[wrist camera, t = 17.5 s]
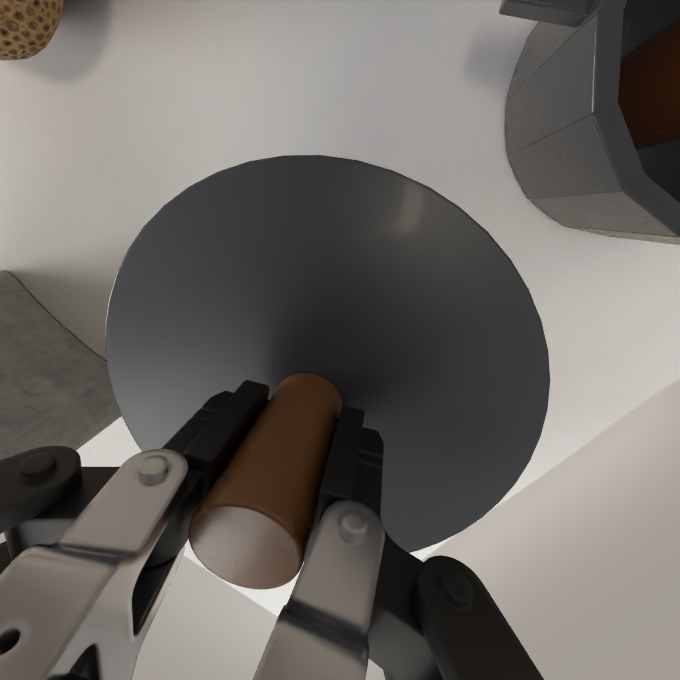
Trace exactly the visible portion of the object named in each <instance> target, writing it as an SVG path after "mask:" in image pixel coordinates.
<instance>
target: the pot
mask: <svg viewBox="0 0 680 680" xmlns="http://www.w3.org/2000/svg"><path fill="white" fill-rule="evenodd" d="M499 13H500V14H502V15H507V16H513V17H518V18H524V19H529V20H535V21H539V22H538V23H537V25H536V26H535V27H534V29H533V30H532V32H531V33H530V34H529V36H528V38H527V40H526V42H525V45H524V48H523V51H522V53H521V55H520V58H519V60H518V63H517V66H516V68H515V71H514V73H513V77H512V81H511V85H510V88H509V92H508V97H507V105H506V111H505V138H506V148H507V152H508V157H509V161H510V165H511V167H512V170H513V172H514V175H515V178H516V179H517V181H518V183H519V185H520V186H521V188H522V190H523V192H524V193H525V194H526V195H527V197H528V198H529V199H530V200H531V202H532V203H533V204H534V205H535V206H537V207H538V208H539V209H540V210H541V211H542V212H543V213H545V214H546V215H548V216H549V217H551V218H552V219H554V220H555V221H557V222H559V223H560V224H561V225H563V226H565V227H569V228H574V229H578V230H582V231H587V232H592V233H597V234H601V235H606V236H611V237H619V238H627V239H635V240H643V241H651V242H659V243H667V244H675V245H680V140H676V141H672V142H667V143H663V144H659V145H655V146H651V147H647V148H641V149H636V148H635V146H634V143H633V140H632V138H631V135H630V132H629V130H628V127H627V124H626V122H625V119H624V117H623V114H622V111H621V109H620V106H619V103H618V97H619V81H620V66H621V60H622V59H623V58H624V57H625V56H626V55H627V54H629V53H630V52H631V51H633V50H634V49H636V48H637V47H639V46H640V45H642V44H643V43H645V42H646V41H647V40H649V39H650V38H652V37H653V36H655V35H656V34H658V33H659V32H661V31H662V30H664V29H665V28H667V27H668V26H670V25H671V24H673V23H674V22H676V21H677V20H679V19H680V0H502V3H501V6H500V10H499Z"/></svg>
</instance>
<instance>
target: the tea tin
mask: <svg viewBox="0 0 680 680" xmlns="http://www.w3.org/2000/svg"><path fill="white" fill-rule="evenodd" d="M618 103H619V106H620V109H621V111H622V114H623V117H624V119H625V122H626V124H627V127H628V130H629V132H630V135H631V138H632V140H633V143H634V146H635V148H636V149H641V148H647V147H651V146H655V145H659V144H663V143H667V142H672V141H676V140H680V19H679V20H677V21H676V22H674V23H673V24H671V25H670V26H668V27H667V28H665V29H664V30H662V31H661V32H659V33H658V34H656V35H655V36H653V37H652V38H650V39H649V40H647V41H646V42H645V43H643V44H642V45H640V46H639V47H637V48H636V49H634V50H633V51H631V52H630V53H629V54H627V55H626V56H625V57H624V58H623V59H622V60H621V66H620V81H619V97H618Z"/></svg>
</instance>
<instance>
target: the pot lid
mask: <svg viewBox="0 0 680 680" xmlns="http://www.w3.org/2000/svg"><path fill="white" fill-rule="evenodd" d="M105 350H106V358H107V365H108V373H109V377H110V381H111V385H112V388H113V392H114V396H115V399H116V401H117V404H118V406H119V409H120V412H121V414H122V417H123V419H124V421H125V423H126V425H127V427H128V429H129V431H130V432H131V434H132V436H133V438H134V440H135V442H136V443H137V445H138V446H139V448H140V449H141V450H142V452H144V451H147V450H152V449H161V448H162V447H163V446H164V445H165V444H166V443H167V442H168V441H169V440H170V439H171V438H172V437H173V436H174V435H175V434H176V433H177V432H178V431H179V430H180V429H181V427H182V426H183V425H184V424H185V423H186V422H187V421H188V420H189V419H190V418H192V417H193V415H194V414H195V413H196V412H197V411H198V410H199V409H201V407H202V406H203V405H204V404H205V403H206V402H207V401H208V400H209V399H210V398H211V397H212V396H214V395H217V394H219V393H221V392H223V391H225V390H226V391H229V392H233V393H234V392H235V391H236V390H237V389H238V388H239V386H240V385H241V384H242V383H243V382H244V381H245V380H250V381H254V382H258V383H262V384H266V385H269V387H270V391H269V398H268V402H267V404H266V405H265V407H264V408H263V410H262V411H261V413H260V414H259V416H258V417H257V419H256V421H255V422H254V424H253V425H252V427H251V428H250V430H249V431H248V433H247V434H246V436H245V437H244V439H243V440H242V442H241V443H240V445H239V446H238V448H237V449H236V451H235V453H234V454H233V456H232V457H231V459H230V460H229V462H228V463H227V465H226V466H225V468H224V469H223V471H222V472H221V474H220V475H219V477H218V478H217V480H216V481H215V483H214V484H213V486H212V488H211V489H210V491H209V492H208V494H207V495H206V497H205V498H204V500H203V501H202V503H201V504H200V506H199V507H198V509H197V510H196V512H195V513H194V515H193V517H192V519H191V521H190V525H189V532H188V534H189V541H190V545H191V548H192V550H193V552H194V553H195V555H196V556H197V558H198V559H199V560H200V562H201V563H202V564H203V565H204V566H205V567H206V568H207V569H209V570H210V571H211V572H212V573H214V574H215V575H217V576H218V577H220V578H222V579H224V580H225V581H228V582H230V583H232V584H235V585H238V586H241V587H245V588H251V589H272V588H276V587H280V586H282V585H285V584H286V583H288V582H290V581H291V580H292V579H293V578H294V577H295V576H296V575H297V574H298V572H299V571H300V569H301V567H302V564H303V561H304V557H305V553H306V550H307V546H308V542H309V538H310V534H311V531H312V525H313V515H314V511H315V507H316V503H317V499H318V494H319V490H320V487H321V483H322V479H323V476H324V472H325V468H326V464H327V461H328V457H329V453H330V450H331V446H332V442H333V439H334V435H335V431H336V427H337V424H338V420H339V416H340V413H341V409H342V405H345V406H349V407H353V408H357V409H361V410H365V414H364V421H363V427H365V428H369V429H372V430H376V431H378V432H379V434H380V436H381V438H382V440H383V442H384V455H383V469H382V470H383V475H382V494H381V520H382V524H383V526H384V529H385V530H386V532H387V534H388V535H389V537H390V538H391V539H392V540H393V541H394V542H395V543H396V544H397V545H398V546H399V547H400V548H402V549H403V550H405V551H406V552H408V553H410V552H414V551H418V550H420V549H423V548H426V547H429V546H431V545H434V544H437V543H439V542H441V541H443V540H445V539H447V538H449V537H451V536H453V535H455V534H457V533H459V532H461V531H463V530H464V529H466V528H467V527H469V526H470V525H471V524H473V523H474V522H476V521H477V520H479V519H480V518H482V517H483V516H484V515H485V514H486V513H487V512H489V511H490V510H491V509H492V508H493V507H494V506H495V505H496V504H498V503H499V502H500V501H501V499H502V498H503V497H504V496H505V495H506V494H507V492H508V491H509V490H510V489H511V488H512V487H513V485H514V484H515V483H516V482H517V480H518V479H519V477H520V475H521V474H522V472H523V471H524V469H525V468H526V466H527V464H528V463H529V461H530V459H531V457H532V454H533V452H534V450H535V448H536V445H537V443H538V441H539V438H540V436H541V432H542V428H543V424H544V420H545V417H546V413H547V407H548V397H549V386H550V373H549V358H548V348H547V344H546V340H545V335H544V331H543V327H542V322H541V319H540V316H539V314H538V312H537V309H536V307H535V304H534V302H533V299H532V297H531V294H530V292H529V289H528V288H527V286H526V284H525V283H524V281H523V279H522V278H521V276H520V274H519V273H518V271H517V269H516V268H515V266H514V264H513V263H512V261H511V260H510V258H509V257H508V256H507V255H506V254H505V252H504V251H503V250H502V249H501V248H500V246H499V245H498V244H497V243H496V242H495V240H494V239H493V238H492V237H491V236H490V234H489V233H488V232H487V231H486V230H485V229H484V228H482V227H481V226H480V225H479V224H478V223H477V222H476V221H475V220H473V219H472V218H471V217H470V216H469V215H468V214H467V213H466V212H464V211H463V210H462V209H461V208H460V207H458V206H457V205H455V204H454V203H452V202H451V201H449V200H448V199H446V198H445V197H443V196H441V195H440V194H438V193H437V192H435V191H434V190H432V189H431V188H429V187H427V186H425V185H423V184H421V183H419V182H417V181H414V180H412V179H410V178H408V177H406V176H404V175H401V174H399V173H397V172H395V171H392V170H389V169H385V168H382V167H379V166H375V165H372V164H368V163H365V162H361V161H358V160H352V159H345V158H337V157H330V156H323V155H292V156H278V157H273V158H267V159H261V160H255V161H249V162H246V163H243V164H240V165H237V166H234V167H231V168H228V169H225V170H222V171H219V172H217V173H215V174H213V175H211V176H209V177H207V178H205V179H203V180H201V181H199V182H197V183H195V184H194V185H192V186H190V187H188V188H187V189H186V190H184V191H183V192H182V193H180V194H179V195H178V196H176V197H175V198H174V199H172V200H171V201H170V202H168V203H167V204H166V205H164V206H163V207H162V208H161V209H160V211H159V212H158V213H157V214H156V215H155V216H154V217H153V218H152V219H151V220H150V221H149V222H148V223H147V224H146V225H145V226H144V227H143V229H142V230H141V232H140V233H139V235H138V236H137V238H136V239H135V240H134V242H133V243H132V245H131V246H130V248H129V249H128V251H127V253H126V255H125V257H124V259H123V261H122V264H121V266H120V268H119V270H118V272H117V274H116V277H115V281H114V284H113V288H112V291H111V294H110V298H109V303H108V310H107V317H106V324H105Z"/></svg>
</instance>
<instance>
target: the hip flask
mask: <svg viewBox="0 0 680 680" xmlns="http://www.w3.org/2000/svg"><path fill="white" fill-rule="evenodd" d="M121 416H122V414H121V412H120V409H119V406H118V404H117V401H116V399H115V396H114V392H113V388H112V385H111V381H110V377H109V373H108V365H107V362H106V361H105V360H103V359H102V358H101V357H99V356H98V355H97V354H95V353H94V352H93V351H92V350H90V349H89V348H88V347H87V346H85V345H84V344H83V343H82V342H81V341H79V340H78V339H77V338H76V337H75V336H73V335H72V334H71V333H70V332H69V331H68V330H67V329H65V328H64V327H63V326H62V325H61V324H60V323H59V322H58V321H57V320H55V319H54V318H53V317H52V316H51V315H50V314H49V313H48V312H47V311H46V310H45V309H44V308H43V307H42V306H41V305H40V304H39V303H38V302H37V301H36V300H35V299H34V298H33V297H32V295H31V294H30V293H29V292H28V291H27V290H26V289H25V288H24V287H23V285H22V284H21V283H20V282H19V281H18V280H17V279H16V278H15V277H14V276H13V275H11V274H10V273H8V272H5V271H0V460H3V459H5V458H8V457H11V456H14V455H16V454H19V453H22V452H25V451H28V450H31V449H34V448H38V447H44V446H65V447H69V448H72V449H74V450H75V451H76V450H77V449H78V448H80V447H81V446H82V445H84V444H85V443H86V442H88V441H89V440H90V439H92V438H93V437H94V436H96V435H97V434H98V433H100V432H101V431H102V430H104V429H105V428H106V427H108V426H109V425H110V424H112V423H113V422H114V421H116V420H117V419H118V418H120V417H121Z"/></svg>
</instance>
